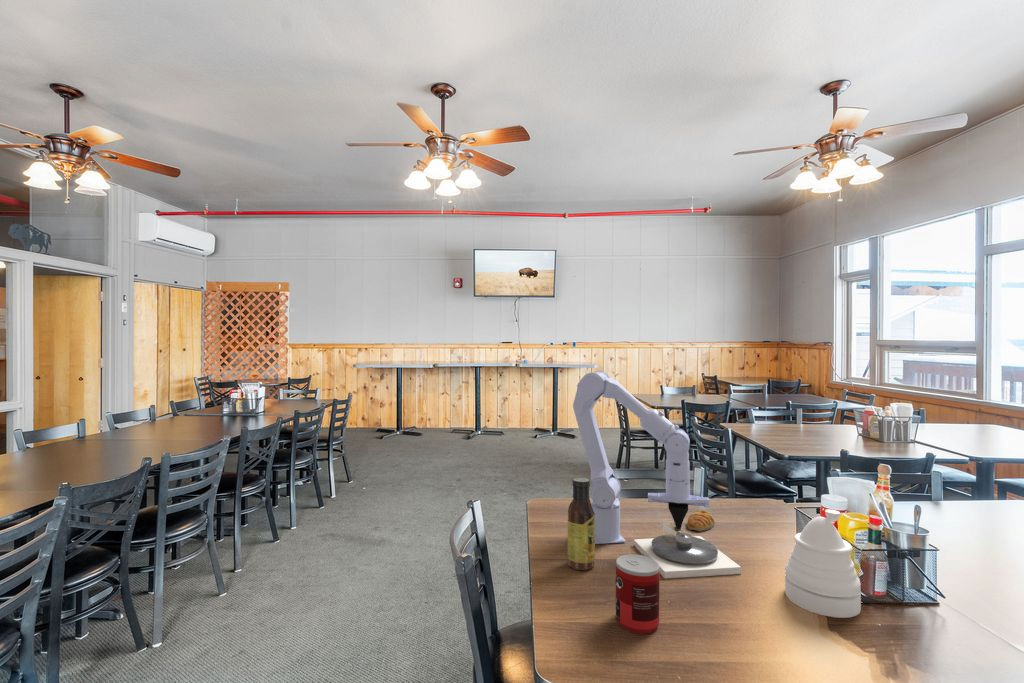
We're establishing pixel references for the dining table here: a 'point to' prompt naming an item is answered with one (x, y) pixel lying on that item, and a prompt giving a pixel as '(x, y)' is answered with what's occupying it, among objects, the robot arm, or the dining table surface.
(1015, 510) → the dining table surface
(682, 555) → the handwheel
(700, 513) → the pastry
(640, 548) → the base
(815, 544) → the honey pot
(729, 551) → the dining table surface
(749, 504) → the dining table surface
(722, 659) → the dining table surface
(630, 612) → the canned food
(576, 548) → the sauce bottle
